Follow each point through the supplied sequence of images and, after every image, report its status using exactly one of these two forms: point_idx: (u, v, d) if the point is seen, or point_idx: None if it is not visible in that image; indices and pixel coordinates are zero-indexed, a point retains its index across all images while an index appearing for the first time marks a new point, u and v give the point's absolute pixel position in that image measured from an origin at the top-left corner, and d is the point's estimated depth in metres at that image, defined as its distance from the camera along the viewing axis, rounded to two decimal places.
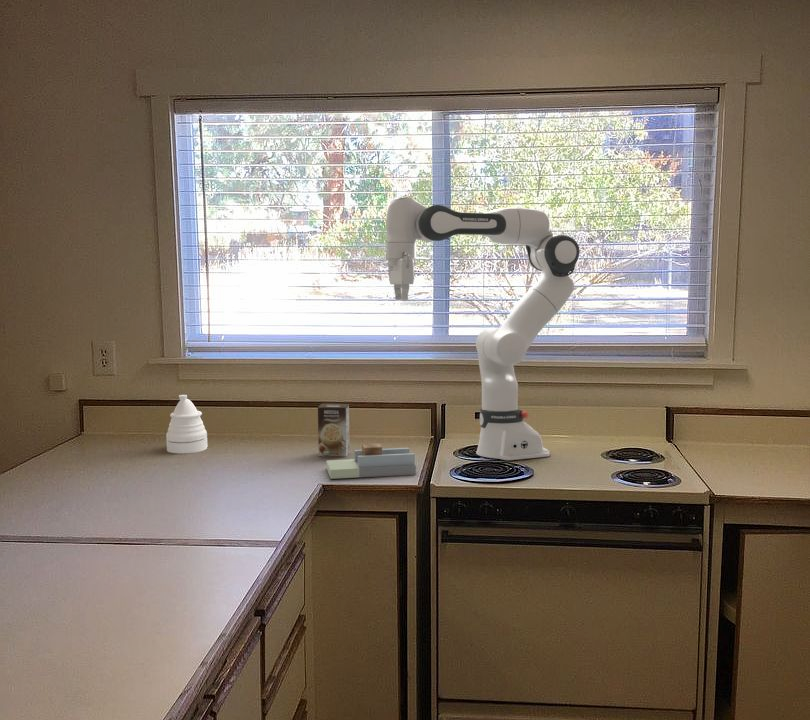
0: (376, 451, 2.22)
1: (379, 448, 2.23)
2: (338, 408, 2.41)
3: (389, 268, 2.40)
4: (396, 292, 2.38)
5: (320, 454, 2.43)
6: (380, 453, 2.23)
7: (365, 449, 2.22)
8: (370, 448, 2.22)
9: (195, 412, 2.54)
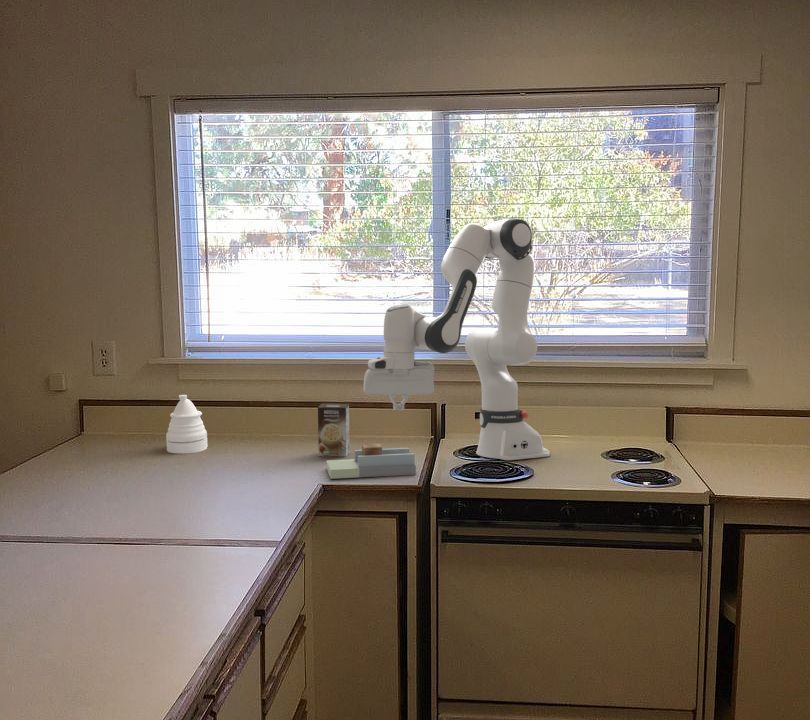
0: (376, 451, 2.22)
1: (379, 448, 2.23)
2: (338, 408, 2.41)
3: (371, 378, 2.21)
4: (395, 402, 2.24)
5: (320, 454, 2.43)
6: (380, 453, 2.23)
7: (365, 449, 2.22)
8: (370, 448, 2.22)
9: (195, 412, 2.54)
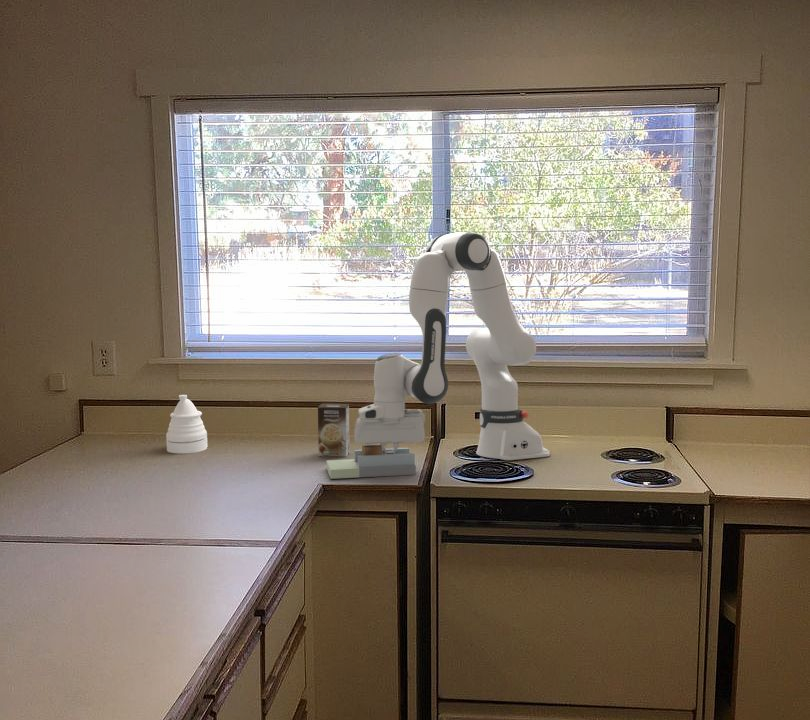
0: (376, 451, 2.22)
1: (379, 448, 2.23)
2: (338, 408, 2.41)
3: (362, 427, 2.21)
4: None
5: (320, 454, 2.43)
6: (380, 453, 2.23)
7: (365, 449, 2.22)
8: (370, 448, 2.22)
9: (195, 412, 2.54)
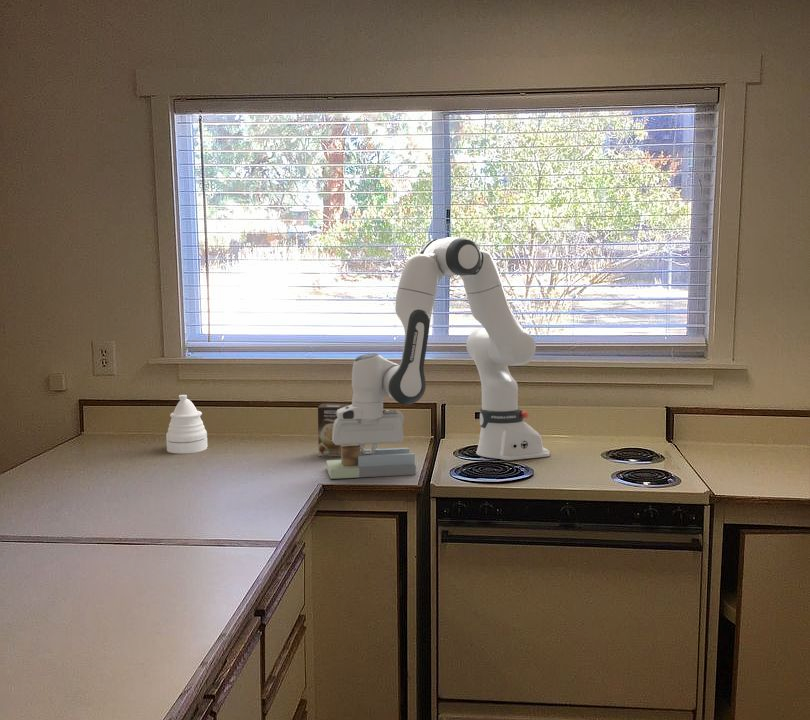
0: (354, 451, 2.21)
1: (357, 448, 2.21)
2: (338, 408, 2.41)
3: (340, 428, 2.20)
4: (364, 451, 2.24)
5: (320, 454, 2.43)
6: (359, 453, 2.22)
7: (343, 450, 2.21)
8: (348, 449, 2.21)
9: (195, 412, 2.54)
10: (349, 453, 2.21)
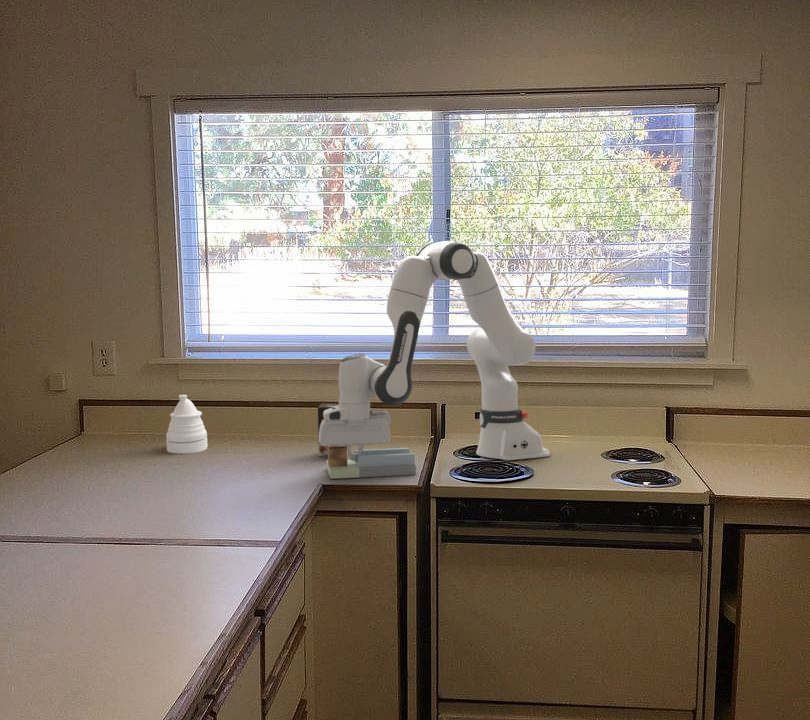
0: (341, 452, 2.21)
1: (344, 449, 2.21)
2: None
3: (326, 429, 2.20)
4: (351, 452, 2.23)
5: (320, 454, 2.43)
6: (345, 454, 2.21)
7: (330, 450, 2.20)
8: (335, 449, 2.20)
9: (195, 412, 2.54)
10: (336, 454, 2.20)
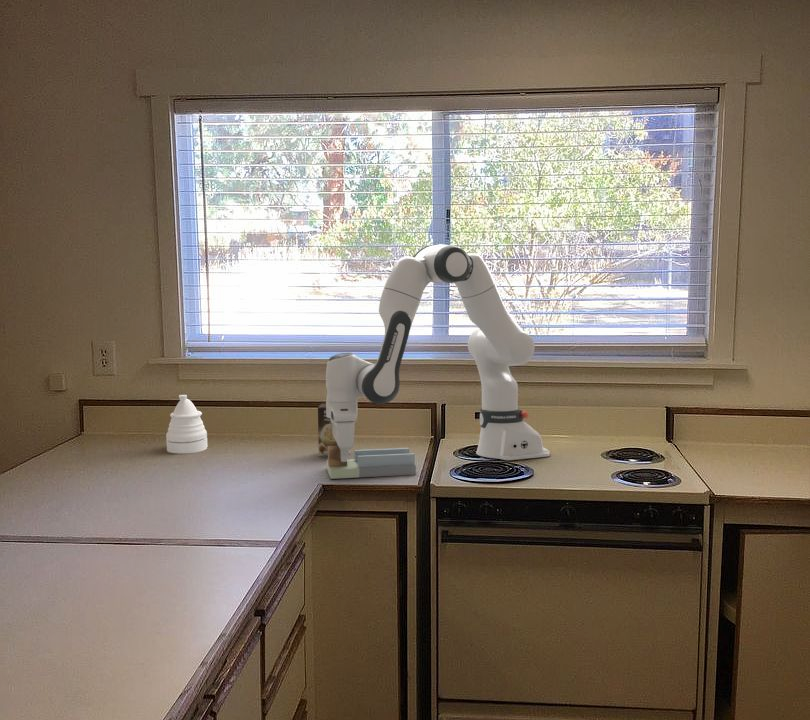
0: None
1: None
2: None
3: None
4: None
5: (320, 454, 2.43)
6: None
7: (330, 450, 2.20)
8: (335, 449, 2.20)
9: (195, 412, 2.54)
10: (335, 454, 2.20)
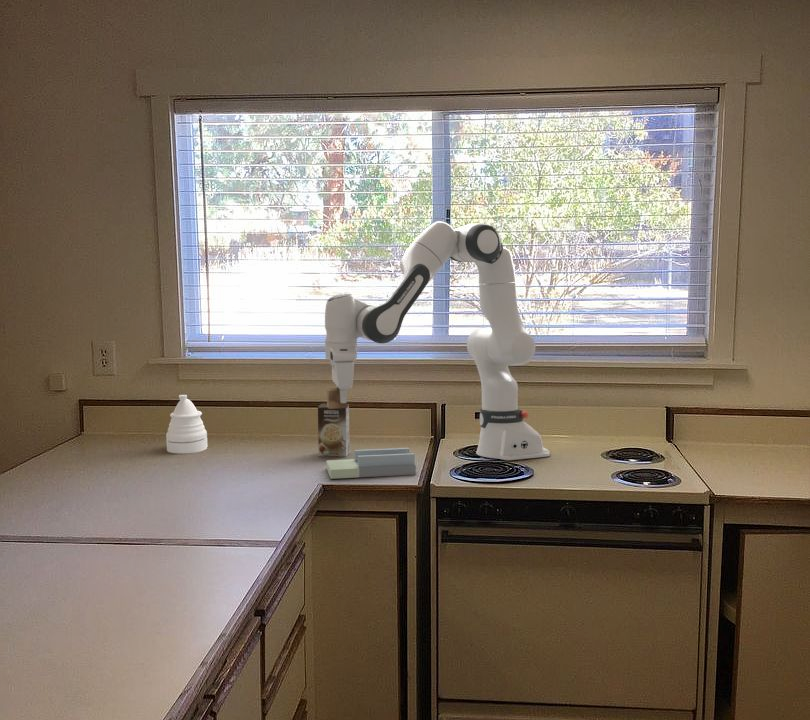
0: None
1: None
2: (338, 408, 2.41)
3: None
4: None
5: (320, 454, 2.43)
6: None
7: (329, 392, 2.18)
8: (334, 391, 2.19)
9: (195, 412, 2.54)
10: (335, 396, 2.19)
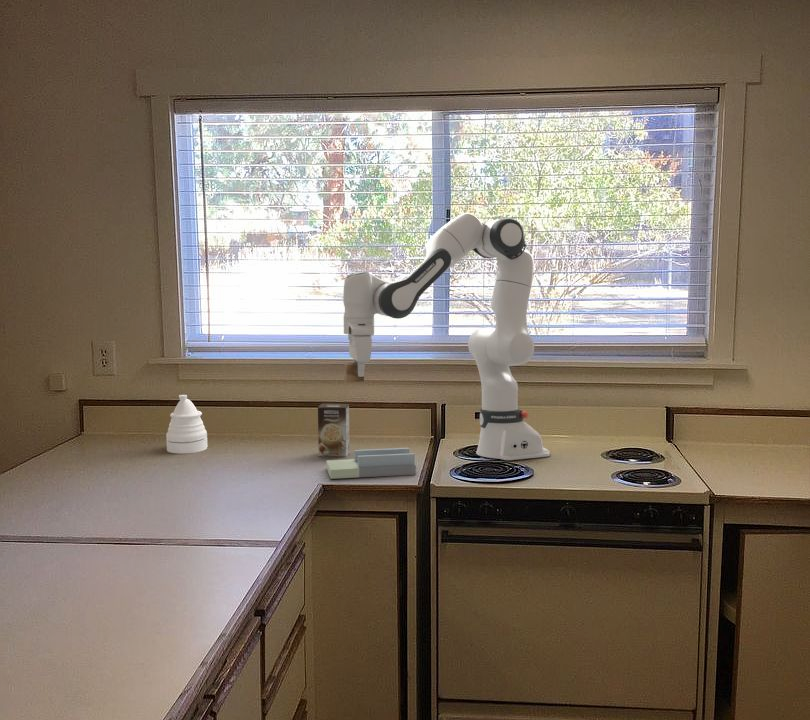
0: None
1: None
2: (338, 408, 2.41)
3: None
4: None
5: (320, 454, 2.43)
6: None
7: (347, 366, 2.26)
8: (352, 365, 2.26)
9: (195, 412, 2.54)
10: (353, 369, 2.26)
